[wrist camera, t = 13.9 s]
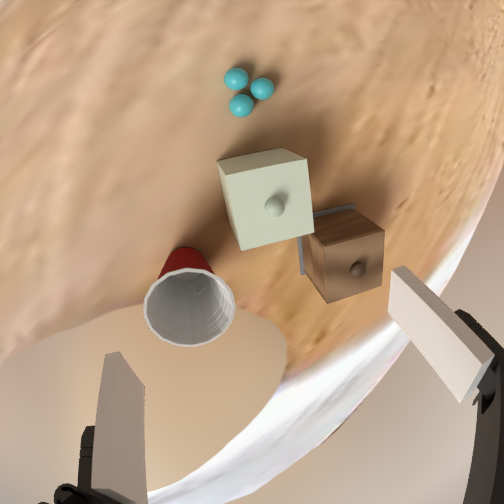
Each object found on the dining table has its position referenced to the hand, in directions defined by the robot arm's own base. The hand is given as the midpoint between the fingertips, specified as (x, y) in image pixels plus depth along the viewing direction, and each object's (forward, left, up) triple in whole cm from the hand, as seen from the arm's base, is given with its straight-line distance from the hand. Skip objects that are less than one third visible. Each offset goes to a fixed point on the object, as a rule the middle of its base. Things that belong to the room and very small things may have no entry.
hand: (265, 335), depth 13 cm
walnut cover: (+13, +16, -30) cm, 36 cm away
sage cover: (+2, +6, -30) cm, 31 cm away
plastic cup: (+11, -6, -30) cm, 33 cm away
